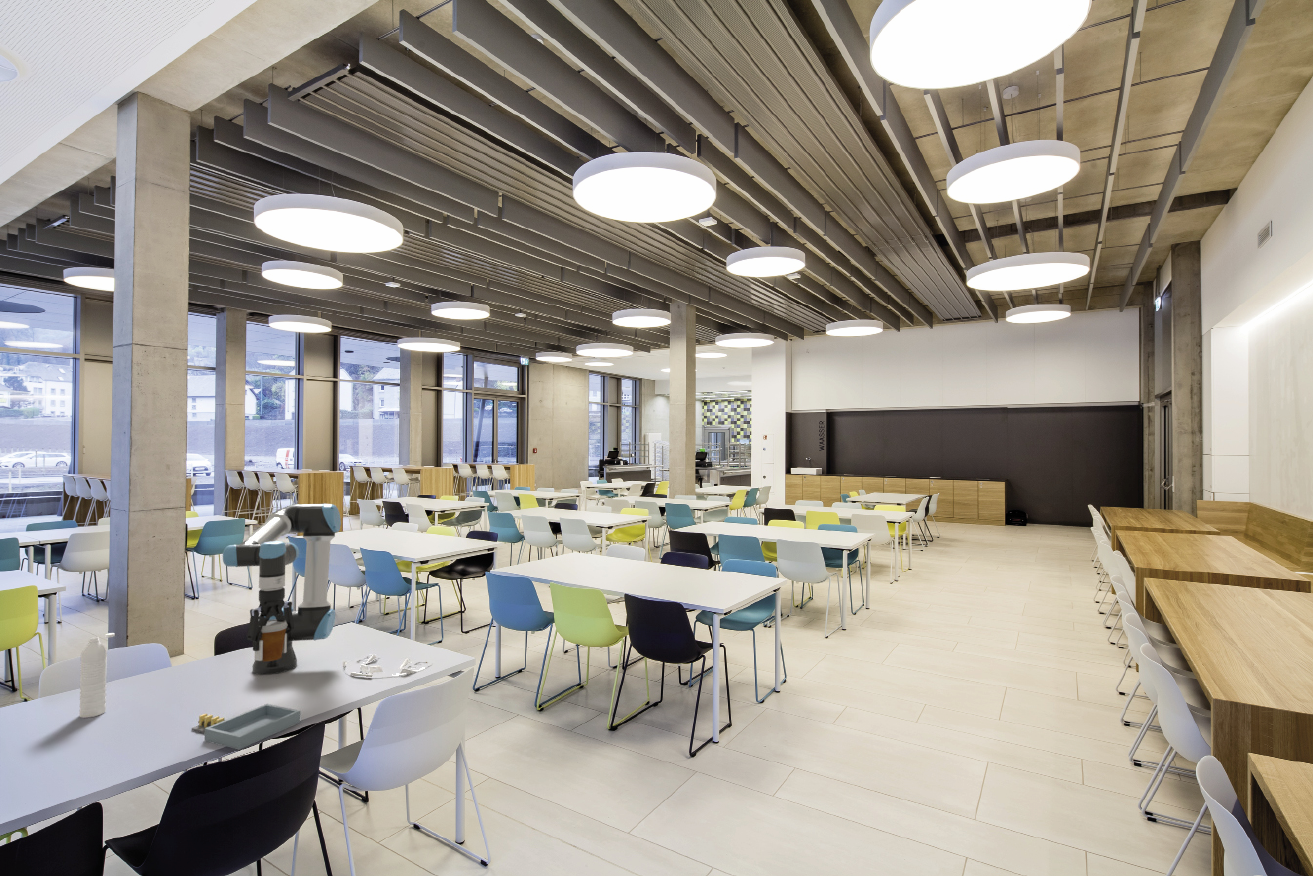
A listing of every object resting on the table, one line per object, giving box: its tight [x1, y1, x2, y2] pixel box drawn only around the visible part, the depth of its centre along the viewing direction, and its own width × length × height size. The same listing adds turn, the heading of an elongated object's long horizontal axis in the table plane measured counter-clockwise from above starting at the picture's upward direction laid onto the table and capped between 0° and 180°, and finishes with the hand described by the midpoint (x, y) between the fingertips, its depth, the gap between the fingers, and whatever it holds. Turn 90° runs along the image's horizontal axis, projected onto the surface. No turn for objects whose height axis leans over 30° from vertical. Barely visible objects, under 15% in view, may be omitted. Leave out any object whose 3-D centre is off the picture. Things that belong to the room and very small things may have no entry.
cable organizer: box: [342, 654, 425, 677], centre depth 254 cm, size 35×24×3 cm
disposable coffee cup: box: [260, 619, 288, 661], centre depth 214 cm, size 10×10×12 cm
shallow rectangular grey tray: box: [204, 703, 301, 750], centre depth 197 cm, size 15×20×4 cm
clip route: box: [191, 713, 226, 735], centre depth 198 cm, size 11×6×4 cm, turn 69°
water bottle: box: [79, 632, 116, 719], centre depth 210 cm, size 9×6×25 cm
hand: (270, 656), depth 214 cm, fingers closed on disposable coffee cup, 8 cm apart
